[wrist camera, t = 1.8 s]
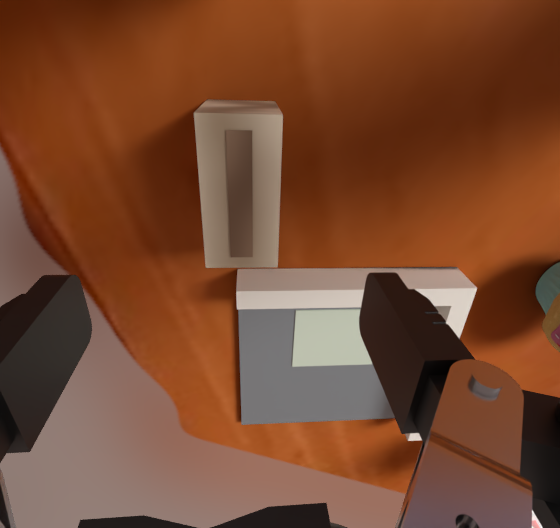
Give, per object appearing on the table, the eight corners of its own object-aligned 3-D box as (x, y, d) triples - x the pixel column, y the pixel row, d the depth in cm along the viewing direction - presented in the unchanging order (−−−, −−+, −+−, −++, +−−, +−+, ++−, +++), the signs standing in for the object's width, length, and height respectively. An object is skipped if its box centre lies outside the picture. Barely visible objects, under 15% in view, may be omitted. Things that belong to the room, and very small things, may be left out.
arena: (456, 267, 29) (477, 288, 26) (411, 413, 37) (423, 440, 34) (237, 268, 27) (236, 291, 25) (241, 420, 35) (241, 448, 33)
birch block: (274, 101, 22) (283, 115, 17) (272, 224, 26) (277, 268, 20) (207, 99, 22) (193, 113, 16) (214, 224, 25) (205, 268, 20)
